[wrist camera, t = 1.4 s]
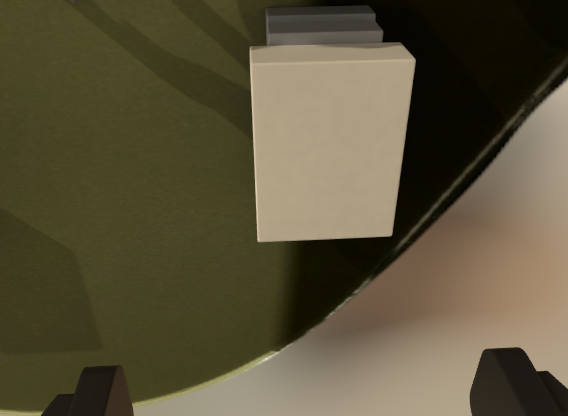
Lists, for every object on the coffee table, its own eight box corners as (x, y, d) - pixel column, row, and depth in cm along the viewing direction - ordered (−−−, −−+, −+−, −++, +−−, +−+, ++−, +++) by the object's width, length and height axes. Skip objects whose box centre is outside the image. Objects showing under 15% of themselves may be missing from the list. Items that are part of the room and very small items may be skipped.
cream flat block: (249, 45, 20) (250, 63, 18) (401, 41, 20) (416, 58, 19) (256, 214, 25) (257, 243, 23) (381, 209, 25) (392, 237, 23)
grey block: (265, 7, 22) (268, 25, 20) (368, 5, 22) (384, 22, 20) (270, 198, 28) (272, 231, 25) (353, 195, 28) (364, 227, 25)
